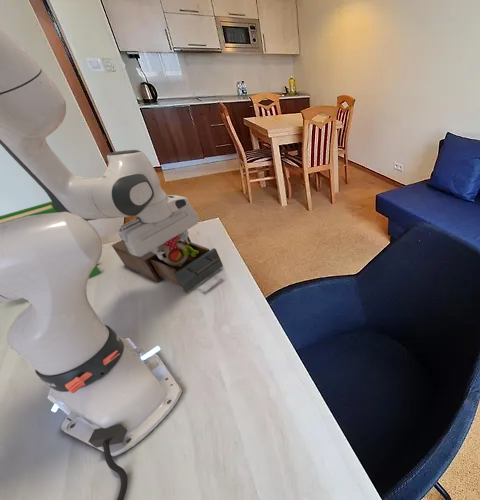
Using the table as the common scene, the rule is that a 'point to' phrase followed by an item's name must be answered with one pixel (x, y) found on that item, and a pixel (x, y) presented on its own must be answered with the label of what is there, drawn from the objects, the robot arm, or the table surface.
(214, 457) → the table surface
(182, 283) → the drawer
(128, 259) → the cabinet
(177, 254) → the bird rattle
